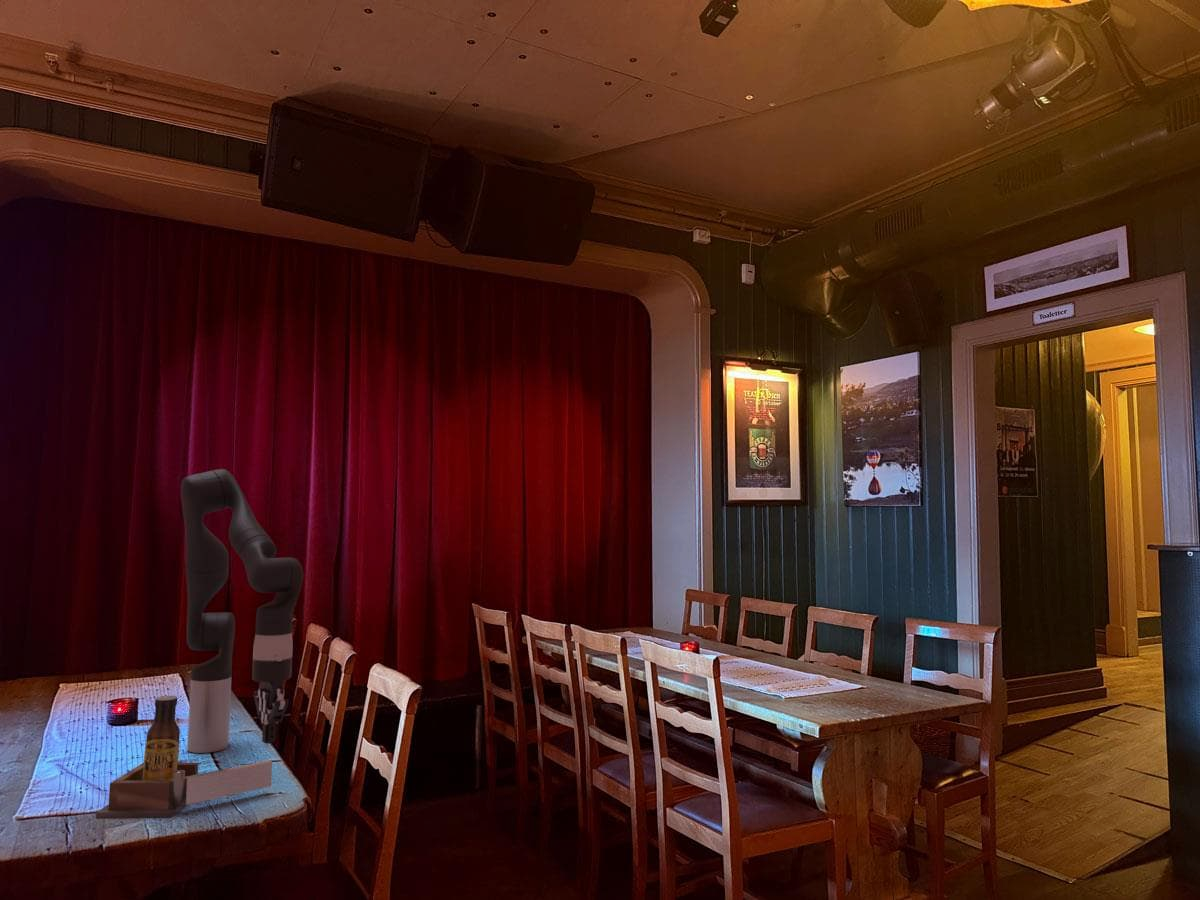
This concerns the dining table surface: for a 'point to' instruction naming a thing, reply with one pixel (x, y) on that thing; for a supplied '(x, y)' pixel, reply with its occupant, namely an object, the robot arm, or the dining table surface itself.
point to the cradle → (142, 795)
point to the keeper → (220, 783)
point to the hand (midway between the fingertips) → (268, 742)
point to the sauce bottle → (162, 742)
